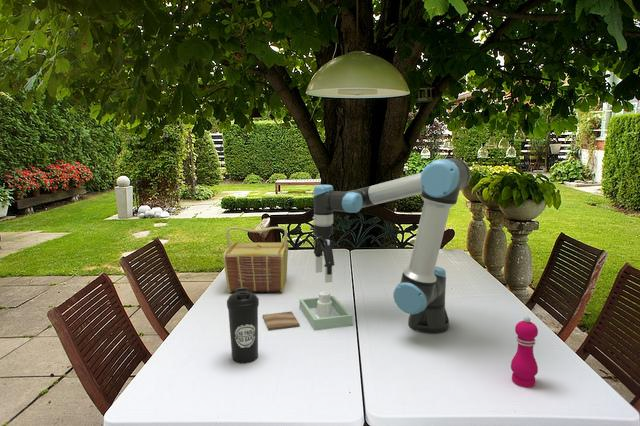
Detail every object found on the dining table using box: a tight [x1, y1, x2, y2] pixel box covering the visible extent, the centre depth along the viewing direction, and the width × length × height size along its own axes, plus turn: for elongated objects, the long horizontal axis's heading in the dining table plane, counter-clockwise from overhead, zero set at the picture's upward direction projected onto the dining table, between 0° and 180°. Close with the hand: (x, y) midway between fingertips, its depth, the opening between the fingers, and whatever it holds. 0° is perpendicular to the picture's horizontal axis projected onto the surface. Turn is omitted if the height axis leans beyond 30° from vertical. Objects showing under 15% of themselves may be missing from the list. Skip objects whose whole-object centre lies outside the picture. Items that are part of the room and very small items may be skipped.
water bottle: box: [226, 287, 260, 364], centre depth 152 cm, size 10×10×23 cm
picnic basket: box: [222, 226, 289, 294], centre depth 222 cm, size 29×26×30 cm
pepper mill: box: [510, 316, 539, 388], centre depth 134 cm, size 7×7×20 cm
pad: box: [262, 311, 301, 331], centre depth 183 cm, size 14×12×1 cm
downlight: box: [315, 290, 334, 319], centre depth 187 cm, size 8×7×10 cm
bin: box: [299, 295, 353, 331], centre depth 187 cm, size 24×15×4 cm, turn 16°
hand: (323, 277), depth 185 cm, fingers open, 13 cm apart
